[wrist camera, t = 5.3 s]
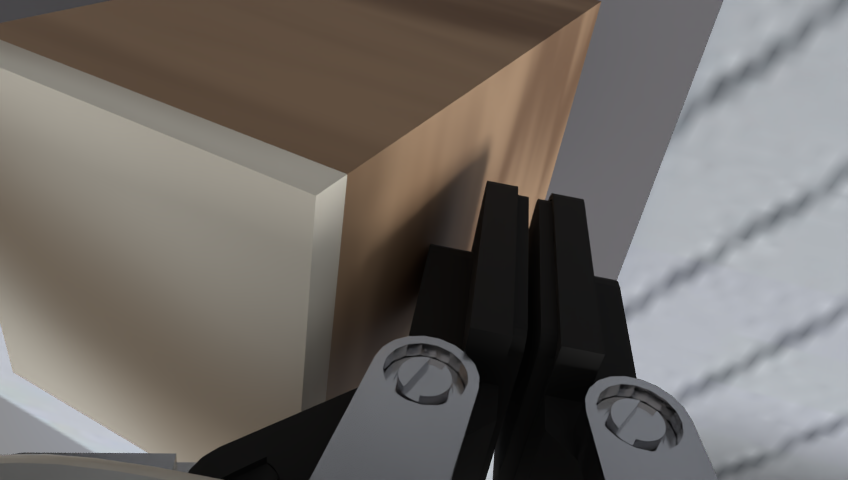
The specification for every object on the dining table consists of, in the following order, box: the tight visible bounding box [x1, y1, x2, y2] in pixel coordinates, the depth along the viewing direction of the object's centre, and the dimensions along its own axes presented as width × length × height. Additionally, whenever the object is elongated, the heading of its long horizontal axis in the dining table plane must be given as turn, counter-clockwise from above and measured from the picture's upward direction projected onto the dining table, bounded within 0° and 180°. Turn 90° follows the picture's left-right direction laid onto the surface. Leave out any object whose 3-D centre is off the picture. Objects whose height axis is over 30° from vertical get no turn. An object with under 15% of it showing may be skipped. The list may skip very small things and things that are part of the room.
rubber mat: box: [0, 0, 723, 281], centre depth 20 cm, size 24×24×1 cm
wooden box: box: [0, 0, 601, 462], centre depth 14 cm, size 6×6×12 cm
